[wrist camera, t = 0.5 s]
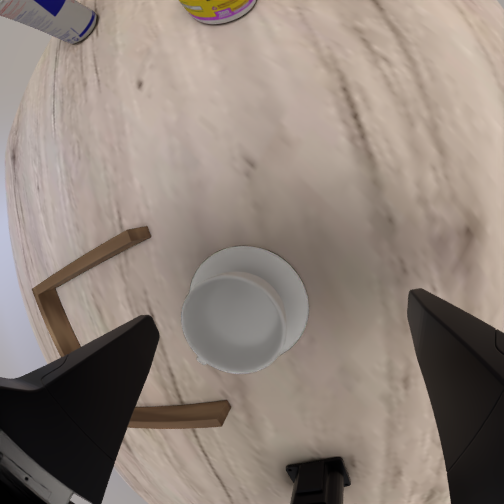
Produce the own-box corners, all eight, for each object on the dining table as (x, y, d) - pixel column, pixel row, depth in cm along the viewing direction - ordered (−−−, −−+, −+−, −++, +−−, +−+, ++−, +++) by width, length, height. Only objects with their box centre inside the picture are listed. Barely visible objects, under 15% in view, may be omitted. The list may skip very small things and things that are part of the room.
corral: (231, 407, 25) (221, 426, 22) (114, 413, 30) (102, 425, 27) (147, 226, 24) (126, 229, 21) (48, 283, 29) (31, 289, 26)
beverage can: (106, 12, 21) (25, -35, 7) (87, 45, 22) (-4, 6, 8) (83, 15, 22) (8, -22, 7) (66, 46, 23) (-17, 15, 9)
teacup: (235, 218, 22) (213, 223, 18) (335, 299, 21) (338, 323, 17) (172, 308, 25) (144, 328, 20) (257, 377, 24) (245, 409, 20)
